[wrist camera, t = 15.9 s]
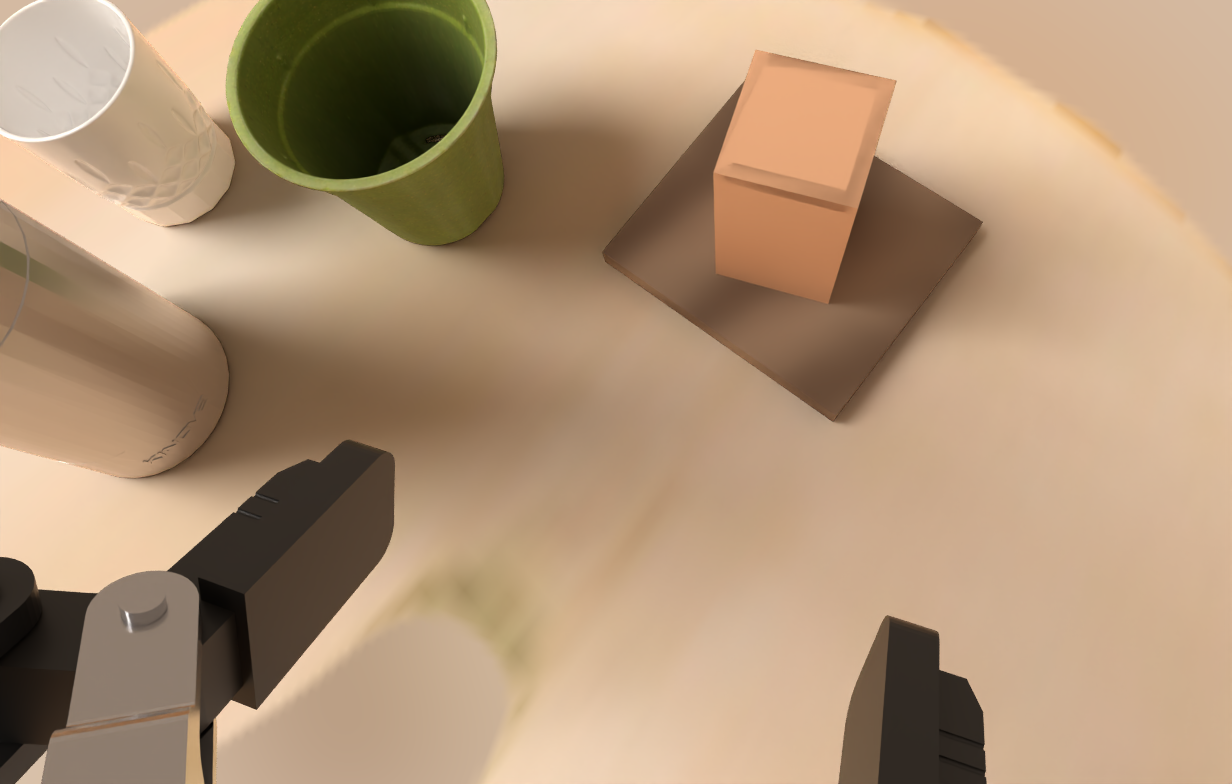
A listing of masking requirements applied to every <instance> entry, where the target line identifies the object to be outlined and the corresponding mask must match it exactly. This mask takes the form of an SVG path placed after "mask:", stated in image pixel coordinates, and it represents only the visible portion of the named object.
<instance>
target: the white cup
mask: <svg viewBox="0 0 1232 784" xmlns="http://www.w3.org/2000/svg"><path fill="white" fill-rule="evenodd" d="M0 134H1V135H2V136H4V137H5V138H7V139H9V140H10V141H12V142H14V143H15V144H17V145H18V146H20V147H22V148H23V149H25V150H26V151H28V152H30V153H31V154H33V155H34V156H36V157H37V158H39V159H41V160H42V161H44V162H45V163H47V164H48V165H50V166H52V167H53V168H55V169H56V170H58V171H59V172H61V173H63V174H64V175H66V176H67V177H69V178H71V179H72V180H74V181H75V182H77V183H79V184H81V185H82V186H84V187H86V188H88V189H90V190H91V191H93V192H94V193H96V194H97V195H99V196H101V197H103V198H105V199H106V200H108V201H110V202H112V203H114V204H117V205H119V206H120V207H122V208H123V209H125V210H126V211H128V212H129V213H131V214H132V215H134V216H135V217H137V218H139V219H141V220H144V221H147V222H150V223H153V224H157V225H160V226H163V227H164V226H171V225H178V224H184V223H190V222H191V221H193V220H195V219H196V218H198V217H200V216H201V215H203V214H205V213H206V212H208V211H210V210H211V209H213V208H214V206H215V205H216V204H217V203H218V201H219V200H220V199H221V197H222V196H223V195H224V193H225V192H226V191H227V189H228V188H229V186H230V182H231V178H232V174H233V170H234V166H235V159H234V155H233V151H232V146H231V142H230V139H229V138H228V137H227V136H226V135H225V134H224V133H223V131H222V130H221V129H220V128H219V127H218V126H217V125H216V124H215V123H214V121H213V120H212V119H211V118H210V117H209V115H208V114H207V113H206V112H205V110H204V109H203V107H202V105H201V103H200V102H199V101H198V100H197V98H196V97H195V96H194V94H193V93H192V92H191V91H190V89H189V88H188V87H187V86H186V84H185V83H184V82H183V81H182V80H181V79H180V77H179V76H178V75H177V74H176V73H175V72H174V71H173V70H172V68H171V67H170V66H169V65H168V64H167V63H166V62H165V60H164V59H163V58H162V57H161V56H160V55H159V53H158V52H157V51H156V50H155V49H154V48H153V47H152V46H151V44H150V43H149V42H148V41H147V40H146V39H145V37H144V36H143V35H142V34H141V33H140V32H139V31H138V30H137V29H136V27H135V26H134V25H133V24H132V23H131V21H130V20H129V19H128V18H127V17H126V16H125V14H124V13H123V12H122V11H121V10H120V9H119V8H118V7H117V6H116V5H114V4H113V3H111V2H110V1H108V0H37V1H35V2H33V3H31V4H29V5H27V6H25V7H23V8H22V9H20V10H19V11H17V12H16V13H14V14H13V15H12V16H11V17H9V18H8V19H7V20H6V21H5V22H4V23H3V24H2V25H1V26H0Z"/></svg>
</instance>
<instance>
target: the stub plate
mask: <svg viewBox="0 0 1232 784" xmlns="http://www.w3.org/2000/svg"><path fill="white" fill-rule="evenodd" d="M744 82H745V81H744ZM744 82H743V83H742V84H741V86H740V87H739V88H738V89H737V90H736V92H735V93H734V94H733V95H732V96H731V98H730V99H729V100H728V101H727V103H726V104H725V105H724V106H723V107H722V109H721V110H720V111H719V112H718V113H717V115H716V116H715V117H714V118H713V119H712V121H711V122H710V123H709V124H708V125H707V127H706V128H705V129H704V130H703V131H702V133H701V134H700V135H699V136H698V137H697V139H696V140H695V141H694V142H693V143H692V145H691V146H690V147H689V148H688V149H687V151H686V152H685V153H684V154H683V155H682V157H681V158H680V159H679V160H678V161H677V163H676V164H675V165H674V166H673V167H672V169H671V170H670V171H669V172H668V173H667V175H666V176H665V177H664V178H663V179H662V181H661V182H660V183H659V184H658V185H657V187H656V188H655V189H654V190H653V191H652V193H651V194H650V195H649V196H648V197H647V199H646V200H645V201H644V202H643V203H642V205H641V206H640V207H639V208H638V209H637V211H636V212H635V213H634V214H633V215H632V217H631V218H630V219H629V220H628V222H627V223H626V224H625V225H624V226H623V228H622V229H621V230H620V231H619V232H618V234H617V235H616V236H615V237H614V238H613V240H612V241H611V242H610V243H609V244H608V246H607V247H606V248H605V249H604V250H603V256H604V259H605V262H607V263H608V264H610V265H611V266H613V267H614V268H615V269H617V270H618V271H620V272H621V273H623V274H624V275H625V276H627V277H628V278H630V279H631V280H632V281H634V282H635V283H637V284H638V285H640V286H641V287H642V288H644V289H645V290H647V291H648V292H649V293H651V294H652V295H654V296H655V297H657V298H658V299H659V300H661V301H662V302H664V303H665V304H667V305H668V306H669V307H671V308H672V309H674V310H675V311H676V312H678V313H679V314H681V315H682V316H684V317H685V318H686V319H688V320H689V321H691V322H692V323H693V324H695V325H696V326H698V327H699V328H701V329H702V330H703V331H705V332H706V333H708V334H709V335H711V336H712V337H713V338H715V339H716V340H718V341H719V342H720V343H722V344H723V345H725V346H726V347H728V348H729V349H730V350H732V351H733V352H735V353H736V354H737V355H739V356H740V357H742V358H743V359H745V360H746V361H747V362H749V363H750V364H752V365H753V366H755V367H756V368H757V369H759V370H760V371H762V372H763V373H764V374H766V375H767V376H769V377H770V378H772V379H773V380H774V381H776V382H777V383H779V384H780V385H781V386H783V387H784V388H786V389H787V390H789V391H790V392H791V393H793V394H794V395H796V396H797V397H798V398H800V399H801V400H803V401H804V402H806V403H807V404H808V405H810V406H811V407H813V408H814V409H816V410H817V411H818V412H820V413H821V414H823V415H824V416H825V417H827V418H828V419H830V420H831V421H834V420H835V418H836V417H837V416H838V414H839V413H840V412H841V410H842V409H843V408H844V406H845V405H846V404H847V402H848V401H849V400H850V399H851V397H852V396H853V395H854V393H855V392H856V391H857V389H858V388H859V387H860V385H861V384H862V383H863V381H864V380H865V379H866V377H867V376H868V375H869V374H870V372H871V371H872V370H873V368H874V367H875V366H876V364H877V363H878V362H879V360H880V359H881V358H882V356H883V355H884V354H885V352H886V351H887V350H888V349H889V347H890V346H891V345H892V343H893V342H894V341H895V339H896V338H897V337H898V335H899V334H900V333H901V331H902V330H903V329H904V327H905V326H906V325H907V323H908V322H909V321H910V320H911V318H912V317H913V316H914V314H915V313H916V312H917V310H918V309H919V308H920V306H921V305H922V304H923V302H924V301H925V300H926V298H927V297H928V296H929V295H930V293H931V292H932V291H933V289H934V288H935V287H936V285H937V284H938V283H939V281H940V280H941V279H942V277H943V276H944V275H945V273H946V272H947V271H948V269H949V268H950V267H951V266H952V264H953V263H954V262H955V260H956V259H957V258H958V256H959V255H960V254H961V252H962V251H963V250H964V248H965V247H966V246H967V244H968V243H969V242H970V241H971V239H972V238H973V237H974V235H975V234H976V233H977V231H978V229H979V228H980V226H981V225H982V223H983V222H982V221H980V220H979V219H977V218H975V217H974V216H972V215H970V214H969V213H967V212H966V211H964V210H962V209H961V208H959V207H957V206H956V205H954V204H952V203H951V202H949V201H947V200H946V199H944V198H942V197H941V196H939V195H938V194H936V193H934V192H933V191H931V190H929V189H928V188H926V187H924V186H923V185H921V184H919V183H918V182H916V181H914V180H913V179H911V178H910V177H908V176H906V175H905V174H903V173H901V172H900V171H898V170H896V169H895V168H893V167H891V166H890V165H888V164H887V163H885V162H883V161H882V160H880V159H878V158H877V157H875V156H874V157H873V160H872V164H871V167H870V170H869V174H868V177H867V180H866V183H865V187H864V190H863V193H862V197H861V200H860V203H859V207H858V210H857V213H856V216H855V219H854V223H853V226H852V229H851V232H850V236H849V239H848V242H847V245H846V248H845V252H844V255H843V258H842V261H841V264H840V268H839V271H838V274H837V277H836V281H835V284H834V287H833V290H832V293H831V297H830V300H829V303H828V304H826V303H822V302H818V301H815V300H811V299H807V298H804V297H800V296H796V295H793V294H789V293H785V292H781V291H778V290H774V289H770V288H767V287H763V286H759V285H756V284H752V283H748V282H745V281H741V280H737V279H734V278H730V277H726V276H722V275H719V274H716V267H715V223H714V180H713V172H714V169H715V166H716V163H717V160H718V158H719V155H720V152H721V149H722V146H723V143H724V140H725V137H726V134H727V131H728V129H729V126H730V123H731V120H732V117H733V114H734V111H735V108H736V105H737V102H738V100H739V97H740V94H741V91H742V88H743V85H744Z"/></svg>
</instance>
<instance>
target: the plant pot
mask: <svg viewBox="0 0 1232 784" xmlns="http://www.w3.org/2000/svg"><path fill="white" fill-rule="evenodd" d="M496 59H497V40H496V31H495V26H494V22H493V18H492V15H491V12H490V9H489V7H488V5H487V2H486V0H259V2H258V3H257V4H256V5H255V7H254V8H253V9H252V10H251V12H250V13H249V15H248V16H247V17H246V19H245V21H244V23H243V24H242V26H241V28H240V30H239V33H238V35H237V37H236V39H235V41H234V45H233V48H232V51H231V54H230V56H229V61H228V66H227V75H226V98H227V104H228V108H229V113H230V117H231V120H232V123H233V126H234V128H235V131H236V133H237V135H238V136H239V138H240V140H241V142H242V143H243V145H244V146H245V147H246V149H247V150H248V151H249V152H250V154H251V155H252V156H253V157H254V158H255V159H256V160H257V161H258V162H259V163H260V164H261V165H263V166H264V167H265V168H267V169H268V170H270V171H271V172H273V173H274V174H276V175H277V176H279V177H281V178H282V179H284V180H287V181H289V182H291V183H294V184H297V185H299V186H302V187H306V188H309V189H314V190H319V191H325V192H328V193H330V194H332V195H336V196H338V197H340V198H341V199H343V200H344V201H345V202H347V203H348V204H350V205H351V206H353V207H355V208H356V209H358V210H359V211H361V212H362V213H364V214H365V215H367V216H368V217H370V218H371V219H373V220H374V221H376V222H377V223H379V224H380V225H382V226H383V227H385V228H386V229H388V230H389V231H391V232H393V233H394V234H396V235H398V236H399V237H401V238H403V239H405V240H407V241H410V242H413V243H416V244H422V245H442V244H447V243H451V242H455V241H458V240H460V239H462V238H465V237H466V236H468V235H470V234H471V233H473V232H474V231H476V230H477V228H478V227H479V226H480V225H481V224H482V223H483V222H484V220H485V219H486V218H487V217H488V216H489V215H490V214H491V213H492V212H493V211H494V210H495V208H496V207H497V204H498V202H499V200H500V197H501V194H502V190H503V184H504V170H503V163H502V158H501V152H500V146H499V140H498V135H497V129H496V123H495V118H494V113H493V107H492V101H491V89H492V81H493V77H494V73H495V67H496ZM437 135H446V136H445V137H444V138H443V139H442V140H441V141H439V142H430V143H427V141H426V139H427V138H428V137H432V136H437ZM425 143H426V144H425Z"/></svg>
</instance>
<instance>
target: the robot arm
mask: <svg viewBox="0 0 1232 784" xmlns="http://www.w3.org/2000/svg"><path fill="white" fill-rule="evenodd" d="M228 383H229V371H228V365H227V358H226V355H225V353H224V350H223V348H222V346H221V343H220V341H219V340H218V339H217V337H216V336H215V334H214V333H213V332H212V330H211V329H210V328H209V327H207V326H206V325H205V324H204V323H203V322H201V321H200V320H199V319H197V318H196V317H194V316H193V315H191V314H189V313H188V312H186V311H184V310H183V309H181V308H179V307H178V306H176V305H174V304H173V303H171V302H170V301H168V300H166V299H165V298H163V297H161V296H160V295H158V294H157V293H155V292H154V291H152V290H150V289H149V288H147V287H145V286H144V285H142V284H140V283H139V282H137V281H135V280H134V279H132V278H130V277H129V276H127V275H126V274H124V273H122V272H121V271H119V270H117V269H116V268H114V267H112V266H111V265H109V264H107V263H106V262H104V261H102V260H101V259H99V258H98V257H96V256H94V255H93V254H91V253H89V252H88V251H86V250H84V249H83V248H81V247H79V246H78V245H76V244H74V243H73V242H71V241H69V240H68V239H66V238H65V237H63V236H61V235H60V234H58V233H56V232H55V231H53V230H51V229H50V228H48V227H46V226H45V225H43V224H41V223H40V222H38V221H36V220H35V219H33V218H32V217H30V216H28V215H27V214H25V213H23V212H22V211H20V210H18V209H17V208H15V207H13V206H12V205H10V204H8V203H7V202H5V201H3V200H2V199H0V446H3V447H7V448H11V449H15V450H18V451H22V452H26V453H30V454H33V455H37V456H41V457H45V458H48V459H52V460H56V461H59V462H63V463H66V464H70V465H74V466H78V467H82V468H86V469H90V470H93V471H97V472H101V473H105V474H109V475H113V476H117V477H124V478H140V477H145V476H151V475H156V474H158V473H161V472H163V471H166V470H168V469H170V468H173V467H174V466H176V465H178V464H179V463H181V462H182V461H184V460H185V459H187V458H188V457H190V456H191V455H192V454H193V453H194V452H195V451H196V450H197V449H198V448H199V447H200V446H201V445H202V444H203V443H204V442H205V441H206V439H207V438H208V436H209V435H210V434H211V432H212V431H213V430H214V428H215V426H216V424H217V422H218V420H219V418H220V416H221V414H222V412H223V409H224V405H225V402H226V398H227V394H228ZM394 480H395V461H394V457H393V455H392V454H391V453H389V452H386V451H383V450H380V449H377V448H374V447H371V446H368V445H365V444H362V443H359V442H355V441H352V440H346V441H344V442H342V443H341V444H340V445H339V446H337V447H336V448H335V449H334V450H333V451H332V452H331V453H330V454H329V455H328V456H327V457H326V458H325V459H324V460H322V461H321V462H320V463H318V462H315V461H312V460H309V459H308V460H305V461H303V462H301V463H299V464H296V465H294V466H292V467H290V468H287V469H285V470H283V471H281V472H278V473H277V474H276V475H275V476H274V477H272V478H271V479H270V480H269V481H268V482H267V483H266V484H265V485H263V486H262V487H261V488H260V489H259V490H258V491H257V492H256V494H255V496H254V497H252V496H251V497H250V498H249V499H248V500H247V501H245V502H244V503H243V504H242V505H241V506H240V507H239V508H238V511H237V512H236V513H234V512H233V513H232V514H231V515H230V516H229V517H227V518H226V519H225V520H224V521H223V522H222V523H221V524H220V525H218V526H217V527H216V528H215V529H214V530H213V531H212V532H211V533H209V534H208V535H207V536H206V537H205V538H204V539H203V540H202V541H200V542H199V543H198V544H197V545H196V546H195V547H194V548H193V549H191V550H190V551H189V552H188V553H187V554H186V555H185V556H184V557H182V558H181V559H180V560H179V561H178V562H177V563H176V564H175V565H173V566H172V567H171V568H170V569H169V570H168V571H146V572H140V573H136V574H132V575H129V576H126V577H123V578H121V579H119V580H117V581H115V582H113V583H111V584H109V585H108V586H107V587H105V588H104V589H102V590H101V591H100V592H99V593H80V592H66V591H52V590H38V588H37V585H36V581H35V577H34V574H33V572H32V570H31V569H30V568H29V567H28V566H27V565H26V564H24V563H23V562H20V561H18V560H16V559H11V558H6V557H0V784H15V783H16V782H17V781H18V780H19V779H20V778H21V777H22V776H23V775H24V774H25V773H26V772H27V770H28V769H29V768H30V767H31V766H32V765H33V764H34V763H35V762H36V761H37V760H38V759H39V758H40V757H41V756H42V755H43V754H44V752H45V751H46V750H47V749H48V750H47V755H46V761H45V766H44V771H43V777H42V782H41V784H216V764H217V763H216V762H217V722H216V716H217V715H218V714H219V713H220V712H221V711H222V709H223V708H224V707H225V706H226V705H227V704H228V703H229V701H230V700H233V701H236V702H238V703H241V704H243V705H246V706H248V707H251V708H253V709H256V710H257V709H258V707H259V706H260V705H261V704H262V703H263V701H264V700H265V699H266V698H267V697H268V695H269V694H270V693H271V692H272V691H273V689H274V688H275V687H276V686H277V685H278V683H279V682H280V681H281V680H282V679H283V677H284V676H285V675H286V674H287V673H288V671H289V670H290V669H291V668H292V666H293V665H294V664H295V663H296V662H297V660H298V659H299V658H300V657H301V656H302V654H303V653H304V652H305V651H306V650H307V648H308V647H309V646H310V645H311V644H312V642H313V641H314V640H315V639H316V638H317V636H318V635H319V634H320V633H321V631H322V630H323V629H324V628H325V627H326V625H327V624H328V623H329V622H330V621H331V619H332V618H333V617H334V616H335V615H336V613H337V612H338V611H339V610H340V609H341V607H342V606H343V605H344V604H345V603H346V601H347V600H348V599H349V598H350V596H351V595H352V594H353V593H354V592H355V590H356V589H357V588H358V587H359V586H360V584H361V583H362V582H363V581H364V580H365V578H366V577H367V576H368V575H369V574H370V572H371V571H372V570H373V569H374V568H375V566H376V565H377V564H378V563H379V561H380V560H381V559H382V557H383V555H384V554H385V552H386V550H387V547H388V545H389V542H390V540H391V536H392V532H393V526H394ZM984 745H985V743H984V722H983V711H982V709H981V707H980V705H979V703H978V701H977V699H976V697H975V695H974V693H973V691H972V689H971V687H970V685H969V683H968V681H967V679H965V678H962V677H959V676H956V675H953V674H950V673H947V672H944V671H941V670H939V634H938V632H937V631H935V630H932V629H929V628H925V627H922V626H919V625H916V624H913V623H910V622H907V621H904V620H901V619H898V618H895V617H891V616H888V615H887V616H886V617H885V618H884V620H883V622H882V624H881V626H880V628H879V631H878V633H877V635H876V638H875V640H874V642H873V645H872V647H871V650H870V652H869V654H868V657H867V659H866V661H865V664H864V666H863V668H862V671H861V673H860V675H859V678H858V680H857V683H856V685H855V688H854V691H853V694H852V697H851V701H850V705H849V709H848V713H847V718H846V724H845V732H844V740H843V749H842V758H841V766H840V775H839V783H838V784H986V777H985V772H986V764H985V751H984V750H983V748H984Z"/></svg>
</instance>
